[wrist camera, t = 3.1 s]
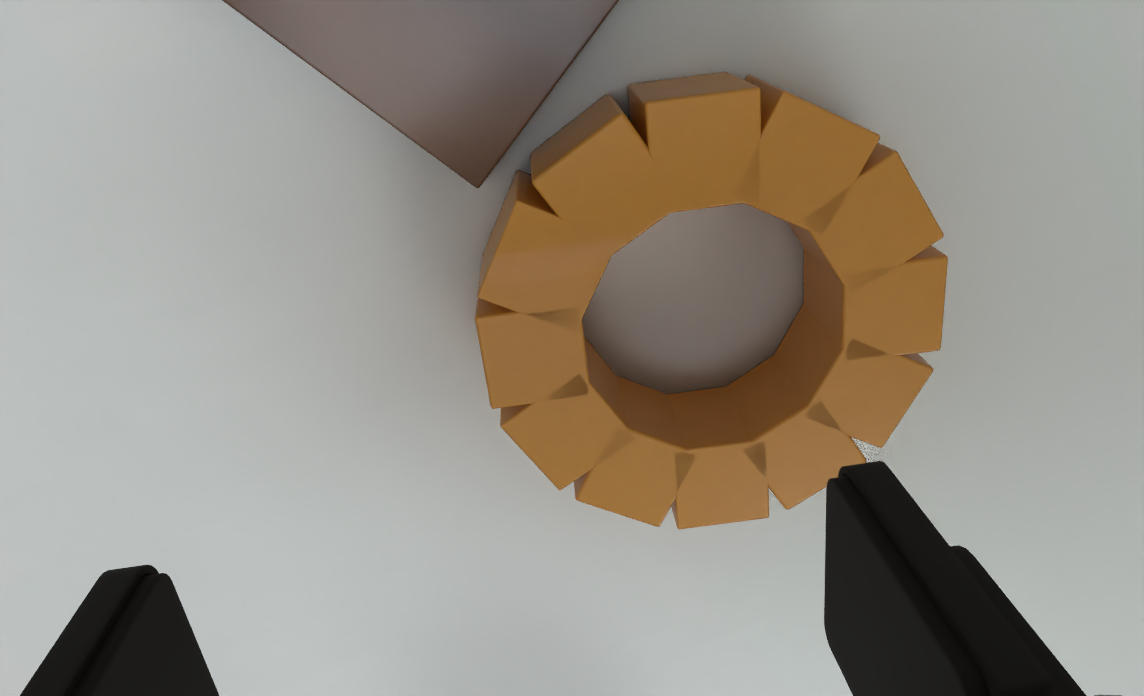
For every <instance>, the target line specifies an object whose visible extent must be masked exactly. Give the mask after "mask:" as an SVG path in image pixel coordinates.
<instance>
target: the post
mask: <svg viewBox="0 0 1144 696" xmlns="http://www.w3.org/2000/svg"><path fill="white" fill-rule="evenodd" d="M223 1H224V2H225V3H227V4H228V5H229V6H231V7H232V8H233V9H235V10H236V11H237V12H239V13H240V14H241V15H243V16H244V17H246V18H247V19H248V20H250V21H251V22H252V23H254V24H255V25H256V26H258V27H259V28H260V29H262V30H263V31H264V32H266V33H267V34H269V35H270V36H271V37H273V38H274V39H275V40H277V41H278V42H279V43H281V44H282V45H283V46H285V47H286V48H288V49H289V50H290V51H292V52H293V53H294V54H296V55H297V56H298V57H300V58H301V59H302V60H304V61H305V62H306V63H308V64H309V65H311V66H312V67H313V68H315V69H316V70H317V71H319V72H320V73H321V74H323V75H324V76H325V77H327V78H328V79H329V80H331V81H332V82H334V83H335V84H336V85H338V86H339V87H340V88H342V89H343V90H344V91H346V92H347V93H348V94H350V95H351V96H353V97H354V98H355V99H357V100H358V101H359V102H361V103H362V104H363V105H365V106H366V107H367V108H369V109H370V110H371V111H373V112H374V113H376V114H377V115H378V116H380V117H381V118H382V119H384V120H385V121H386V122H388V123H389V124H390V125H392V126H393V127H394V128H396V129H397V130H399V131H400V132H401V133H403V134H404V135H405V136H407V137H408V138H409V139H411V140H412V141H413V142H415V143H416V144H418V145H419V146H420V147H422V148H423V149H424V150H426V151H427V152H428V153H430V154H431V155H432V156H434V157H435V158H436V159H438V160H439V161H441V162H442V163H443V164H445V165H446V166H447V167H449V168H450V169H451V170H453V171H454V172H455V173H457V174H458V175H459V176H461V177H462V178H464V179H465V180H466V181H468V182H469V183H470V184H472V185H473V186H474V187H476V188H479V187H480V186H481V185H482V183H483V182H484V181H485V179H486V178H487V177H488V175H489V174H490V173H491V171H492V170H493V169H494V167H495V166H496V164H497V163H498V162H499V160H500V159H501V158H502V156H503V155H504V154H505V152H506V151H507V150H508V148H509V147H510V146H511V144H512V143H513V142H514V140H515V139H516V138H517V136H518V135H519V134H520V132H521V131H522V130H523V128H524V127H525V126H526V124H527V123H528V122H529V120H530V119H531V118H532V116H533V115H534V114H535V112H536V111H537V110H538V108H539V107H540V105H541V104H542V103H543V101H544V100H545V99H546V97H547V96H548V95H549V93H550V92H551V91H552V89H553V88H554V87H555V85H556V84H557V83H558V81H559V80H560V79H561V77H562V76H563V75H564V73H565V72H566V71H567V69H568V68H569V67H570V65H571V64H572V63H573V61H574V60H575V59H576V57H577V56H578V55H579V53H580V52H581V50H582V49H583V48H584V46H585V45H586V44H587V42H588V41H589V40H590V38H591V37H592V36H593V34H594V33H595V32H596V30H597V29H598V28H599V26H600V25H601V24H602V22H603V21H604V20H605V18H606V17H607V16H608V14H609V13H610V12H611V10H612V9H613V8H614V6H615V5H616V4H617V2H618V1H619V0H223Z"/></svg>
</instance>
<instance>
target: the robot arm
mask: <svg viewBox="0 0 1144 696" xmlns="http://www.w3.org/2000/svg"><path fill="white" fill-rule="evenodd" d="M824 625H825V632H826V636H827V640H828V643H829V646H830V648H831V651H832V653H833V655H834V657H835V659H836V661H837V663H838V665H839V667H840V669H841V671H842V673H843V675H844V678H845V680H846V682H847V684H848V686H849V688H850V690H851V692H852V694H853V696H1086V695H1085V693H1084V692H1083V691H1082V690H1081V688H1080V687H1079V686H1078V685H1077V683H1076V682H1075V681H1074V680H1073V679H1072V677H1071V676H1070V675H1069V674H1068V672H1067V671H1066V670H1065V669H1064V667H1063V666H1062V665H1061V664H1060V662H1059V661H1058V660H1057V659H1056V657H1055V656H1054V655H1053V654H1052V652H1051V651H1050V650H1049V649H1048V647H1047V646H1046V645H1045V644H1044V642H1043V641H1042V640H1041V639H1040V638H1039V636H1038V635H1037V634H1036V633H1035V631H1034V630H1033V629H1032V628H1031V626H1030V625H1029V624H1028V623H1027V621H1026V620H1025V619H1024V618H1023V616H1022V615H1021V614H1020V613H1019V611H1018V610H1017V609H1016V608H1015V606H1014V605H1013V604H1012V603H1011V601H1010V600H1009V599H1008V598H1007V597H1006V595H1005V594H1004V593H1003V592H1002V590H1001V589H1000V588H999V587H998V585H997V584H996V583H995V582H994V580H993V579H992V578H991V577H990V575H989V574H988V573H987V572H986V570H985V569H984V568H983V567H982V565H981V564H980V563H979V562H978V560H977V559H976V558H975V557H974V556H973V555H972V554H971V553H970V552H969V551H968V550H967V549H966V548H964V547H961V546H952V547H950V546H949V545H948V543H947V542H946V541H945V540H944V538H943V537H942V536H941V534H940V533H939V532H938V531H937V529H936V528H935V527H934V525H933V524H932V523H931V522H930V520H929V519H928V518H927V516H926V515H925V514H924V513H923V511H922V510H921V509H920V507H919V506H918V505H917V503H916V502H915V501H914V500H913V498H912V497H911V496H910V494H909V493H908V492H907V491H906V489H905V488H904V487H903V485H902V484H901V483H900V482H899V480H898V479H897V478H896V476H895V475H894V474H893V473H892V471H891V470H890V469H889V467H888V466H887V465H886V464H885V463H884V462H881V461H877V462H869V463H862V464H855V465H848V466H843V467H841V468H840V470H839V473H838V477H837V478H830V479H829V480H828V482H827V495H826V551H825V607H824ZM20 696H219V694H218V692H217V689H216V687H215V684H214V682H213V679H212V677H211V675H210V672H209V670H208V667H207V665H206V662H205V660H204V658H203V655H202V653H201V650H200V648H199V645H198V643H197V641H196V638H195V636H194V633H193V631H192V628H191V626H190V624H189V621H188V619H187V616H186V614H185V611H184V609H183V607H182V604H181V602H180V599H179V597H178V594H177V592H176V590H175V587H174V585H173V582H172V580H171V579H170V577H169V576H168V575H167V574H164V573H160V574H159V573H158V571H157V570H156V569H155V568H154V567H153V566H151V565H142V566H135V567H128V568H121V569H114V570H108V571H106V572H104V573H103V574H102V575H101V576H100V577H99V578H98V580H97V581H96V583H95V584H94V586H93V587H92V589H91V590H90V592H89V593H88V595H87V596H86V598H85V599H84V601H83V602H82V604H81V605H80V607H79V608H78V610H77V611H76V613H75V614H74V616H73V617H72V619H71V620H70V622H69V623H68V625H67V626H66V628H65V629H64V631H63V632H62V634H61V635H60V637H59V638H58V640H57V641H56V643H55V644H54V646H53V647H52V649H51V650H50V651H49V653H48V654H47V656H46V657H45V659H44V660H43V662H42V663H41V665H40V666H39V668H38V669H37V671H36V672H35V674H34V675H33V677H32V678H31V680H30V681H29V683H28V684H27V686H26V687H25V689H24V690H23V692H22V693H21V695H20ZM1095 696H1121V695H1095Z"/></svg>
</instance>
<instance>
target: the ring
mask: <svg viewBox="0 0 1144 696" xmlns="http://www.w3.org/2000/svg"><path fill="white" fill-rule="evenodd" d="M628 94H629V106H630V118H631V122H630V121H629V119H628V118H627V116H626V115H625V113H624V112H623V111H622V109H621V108H620V107H619V105H618V104H617V103H616V101H615V100H614V99H613V97H612V96H611V95H609V94H607V95H605V96H604V97H602V98H601V99H600V100H598V101H597V102H596V103H595V104H593V105H592V106H591V107H589V108H588V109H587V110H585V111H584V112H583V113H582V114H580V115H579V116H578V117H576V118H575V119H574V120H573V121H571V122H570V123H569V124H567V125H566V126H565V127H564V128H562V129H561V130H560V131H558V132H557V133H556V134H554V135H553V136H552V137H551V138H549V139H548V140H547V141H545V142H544V143H543V144H542V145H540V146H539V147H538V148H536V149H535V150H534V151H532V153H531V154H530V158H531V175H529V174H526V173H524V172H522V171H519V170H517V171H516V173H515V176H514V178H513V181H512V183H511V186H510V188H509V191H508V193H507V196H506V198H505V201H504V203H503V206H502V208H501V211H500V213H499V216H498V218H497V220H496V223H495V225H494V228H493V230H492V233H491V235H490V238H489V240H488V243H487V245H486V248H485V250H484V253H483V257H482V264H481V271H480V279H479V286H478V293H477V297H478V300H477V308H476V315H475V322H476V328H477V333H478V339H479V344H480V350H481V355H482V361H483V366H484V372H485V378H486V383H487V389H488V394H489V400H490V405H491V407H492V408H493V409H495V408H501V420H500V426H501V428H502V429H503V430H504V431H505V432H506V433H507V434H508V435H509V436H510V437H511V438H512V440H513V441H514V442H515V443H516V444H517V445H518V446H519V447H520V448H521V449H522V450H523V451H524V453H525V454H526V455H527V456H528V457H529V458H530V459H531V460H532V461H533V462H534V463H535V464H536V466H537V467H538V468H539V469H540V470H541V471H542V472H543V473H544V474H545V475H546V476H547V477H548V479H549V480H550V481H551V482H552V483H553V484H554V485H555V486H556V487H557V488H558V489H559V490H561V489H563V488H564V487H566V486H567V485H569V484H570V483H572V482H573V481H574V488H575V498H576V500H578V501H580V502H583V503H586V504H589V505H592V506H596V507H599V508H602V509H605V510H608V511H611V512H614V513H617V514H620V515H623V516H626V517H629V518H632V519H635V520H638V521H641V522H644V523H647V524H651V525H654V526H657V527H659V526H660V525H661V523H662V521H663V519H664V518H665V516H666V514H667V512H668V511H669V509H670V507H672V511H673V514H674V518H675V521H676V525H677V528H678V529H685V528H693V527H701V526H708V525H716V524H724V523H731V522H739V521H747V520H754V519H762V518H768V517H769V491H768V487H769V489H770V490H771V491H772V493H773V494H774V495H775V496H776V498H777V499H778V500H779V502H780V503H781V504H782V505H783V507H784V508H785V509H787V510H788V509H791V508H792V507H794V506H796V505H797V504H799V503H800V502H802V501H804V500H805V499H807V498H809V497H810V496H812V495H814V494H815V493H817V492H818V491H820V490H822V489H823V488H825V487H827V482H828V480H829V479H830V478H837V477H838V473H839V470H840V468H841V467H843V466H848V465H855V464H862V463H865V462H866V458H865V457H864V455H863V454H862V452H861V451H860V450H859V448H858V447H857V445H856V444H855V442H854V441H853V440H852V438H851V437H853V438H856V439H858V440H861V441H864V442H866V443H869V444H872V445H874V446H877V447H880V448H882V447H883V446H884V444H885V443H886V441H887V440H888V438H889V437H890V435H891V434H892V432H893V431H894V429H895V428H896V426H897V425H898V423H899V422H900V420H901V419H902V417H903V416H904V414H905V413H906V411H907V410H908V408H909V407H910V405H911V404H912V402H913V400H914V399H915V397H916V396H917V394H918V393H919V391H920V390H921V388H922V387H923V385H924V384H925V382H926V381H927V379H928V378H929V376H930V375H931V373H932V372H933V368H932V367H931V366H930V365H929V364H928V363H927V362H926V361H925V360H924V359H923V358H922V357H921V356H920V355H919V354H918V353H922V352H930V351H938V350H940V348H941V338H942V326H943V313H944V300H945V288H946V275H947V263H948V258H947V256H946V255H945V254H943V253H942V252H940V251H939V250H937V249H936V248H934V247H933V246H931V245H932V244H934V243H935V242H937V241H938V240H940V239H941V238H943V236H944V235H943V232H942V231H941V229H940V227H939V225H938V223H937V222H936V220H935V218H934V216H933V215H932V213H931V211H930V209H929V207H928V206H927V204H926V202H925V200H924V199H923V197H922V195H921V193H920V191H919V190H918V188H917V186H916V184H915V183H914V181H913V179H912V177H911V176H910V174H909V172H908V170H907V168H906V167H905V165H904V163H903V161H902V160H901V158H900V156H899V154H898V152H896V151H895V150H892V149H890V148H888V147H886V146H884V145H882V144H880V143H878V140H879V139H880V136H879V135H878V134H876V133H874V132H872V131H870V130H868V129H866V128H863V127H861V126H859V125H857V124H855V123H853V122H851V121H849V120H846V119H844V118H842V117H840V116H838V115H836V114H834V113H832V112H829V111H827V110H825V109H823V108H821V107H819V106H817V105H814V104H812V103H810V102H808V101H806V100H804V99H802V98H800V97H797V96H795V95H793V94H791V93H789V92H787V91H785V90H782V89H780V88H778V87H776V86H773V85H771V84H769V83H766V82H764V81H762V80H760V79H757V78H755V77H753V76H750V75H748V76H747V77H746V79H745V81H744V80H742V79H740V78H738V77H736V76H734V75H732V74H730V73H728V72H720V73H712V74H704V75H696V76H689V77H681V78H673V79H665V80H658V81H650V82H642V83H635V84H630V85H629V86H628ZM741 203H745V204H747V205H750V206H752V207H754V208H757V209H759V210H761V211H764V212H766V213H768V214H771V215H773V216H775V217H778V218H780V219H782V220H785V221H787V222H788V224H789V225H790V227H791V228H792V230H793V232H794V233H795V235H796V236H797V238H798V239H799V241H800V242H801V244H802V245H803V247H804V304H803V305H802V307H801V309H800V311H799V312H798V314H797V316H796V318H795V319H794V321H793V323H792V324H791V326H790V328H789V330H788V331H787V333H786V335H785V337H784V338H783V340H782V342H781V344H780V345H779V347H778V349H777V351H776V352H775V354H774V355H773V356H771V357H770V358H768V359H767V360H765V361H764V362H762V363H761V364H759V365H758V366H756V367H755V368H753V369H752V370H750V371H749V372H747V373H746V374H744V375H743V376H741V377H740V378H738V379H736V380H735V381H733V382H732V383H730V384H729V385H727V386H726V387H718V388H710V389H703V390H695V391H687V392H680V393H672V394H665V393H662V392H660V391H657V390H654V389H651V388H649V387H646V386H643V385H641V384H638V383H635V382H632V381H630V380H627V379H624V378H621V377H619V376H616V375H615V373H614V372H613V371H612V370H611V368H610V367H609V366H608V365H607V364H606V362H605V361H604V360H603V359H602V357H601V356H600V355H599V354H598V353H597V351H596V350H595V349H594V348H593V346H592V345H591V344H590V343H589V342H588V340H587V339H586V338H585V337H584V332H583V324H582V318H583V316H584V313H585V311H586V309H587V307H588V305H589V303H590V301H591V298H592V296H593V294H594V292H595V290H596V288H597V286H598V283H599V281H600V279H601V277H602V275H603V273H604V271H605V268H606V266H607V264H608V262H609V260H610V258H611V256H612V255H613V254H614V253H615V252H617V251H618V250H620V249H621V248H622V247H624V246H625V245H627V244H628V243H629V242H631V241H632V240H633V239H635V238H636V237H638V236H639V235H640V234H642V233H643V232H645V231H646V230H647V229H649V228H650V227H651V226H653V225H654V224H656V223H657V222H658V221H660V220H661V219H663V218H664V217H665V216H667V215H668V214H669V213H672V212H680V211H687V210H695V209H703V208H711V207H718V206H726V205H734V204H741Z"/></svg>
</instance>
